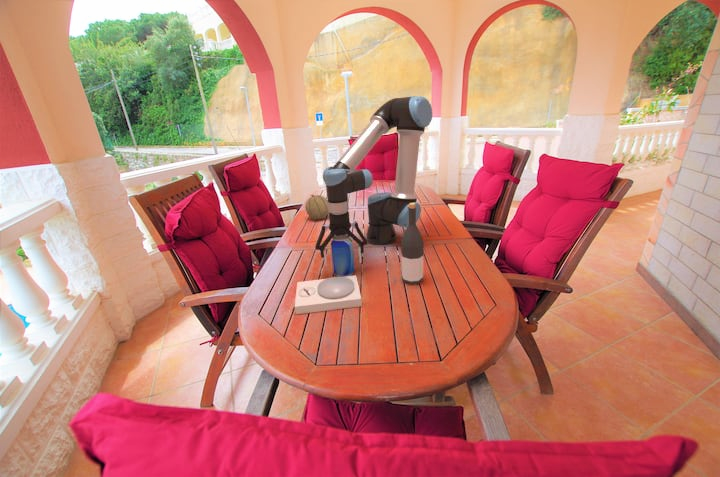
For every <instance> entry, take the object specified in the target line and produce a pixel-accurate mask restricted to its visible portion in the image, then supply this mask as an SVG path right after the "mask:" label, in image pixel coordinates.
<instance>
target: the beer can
mask: <svg viewBox="0 0 720 477" xmlns="http://www.w3.org/2000/svg"><path fill="white" fill-rule="evenodd" d="M330 248H331V256H332V257H331V259H332V266H333V273H334V275H336V277H346V276H353V274H354V272H355V259H354V257H355V256H354V244H353V239H352V238H351V237H350V236H349V235H347V234H346V235H340V236H336V235H335V236H334V237H333V238H332V239H331V241H330Z"/></svg>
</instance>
